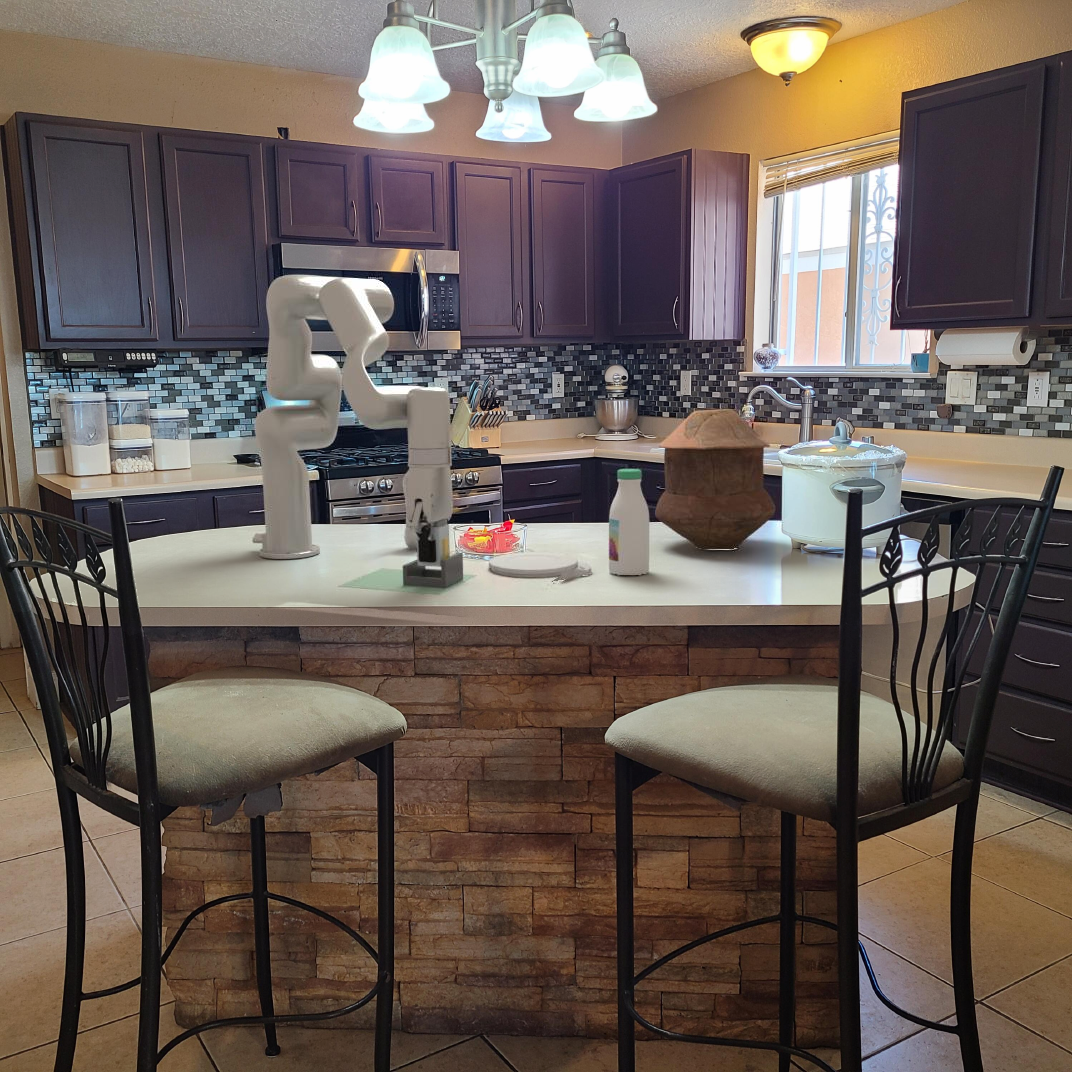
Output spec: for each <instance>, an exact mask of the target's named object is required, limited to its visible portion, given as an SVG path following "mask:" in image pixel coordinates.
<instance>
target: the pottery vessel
mask: <svg viewBox="0 0 1072 1072" xmlns="http://www.w3.org/2000/svg"><path fill="white" fill-rule="evenodd" d="M770 447H771V445H770V444H769V442H767V441H766V440H765V439H763V438H762V437H761V436H760V435H759V434H758V433H757V431H755V430H754V429H753V427H752V426H750V425H749V423H748V422H747V421H746V420H745V419H744V418H743V417H742V416H740V414H738V413H737V412H736V411H735V410H733V409H732V408H723V409H722V408H721V409H720V408H719V409H718V408H717V409H707V410H706V409H705V410H703V409H702V410H696V411H693V412H692V413H690V414H689V415H688V416H687V417H686V418H685V419H684V420H683V421H682V422H681V423H680V424H679V425H678V426H677V427H676V428H675V429H674V430H673V431H672V432H671V433H670V434H669V435H668V436H667V437H666V438H665V439H663V440H662V441H661V442H660V443H659V444H658V448H663V449H664V452H663V453H664V463H663V464H664V480H665V481H664V482H665V483H664V485H665V486H664V488H665V490H664V491H663V493H662V494H661V496H660V497H659V499H658V502H657V504H656V508H655V511H654V515H655V518H656V519H657V520H658V521H660V522H661V523H662V524H663V525H665V526H666V527H668V528H669V529H671V530H672V531H673V532H675V533H676V534H677V535H679V536H680V537H682V538H684V539H685V540H687V541H688V542H690V543H692V544H693V545H694V546H693V545H692V546H693V547H694V548H695V547H697V548H696V549H698V548H701V549H700V550H702V549H734V548H738V549H740V546H741V545H742V544H743V542H744V541H746V540H747V539H748V538H749V537H750V536H751V535H753V534H754V533H755V532H756V531H758V530H759V529H760V528H761V527H763V526H764V525H765V524H766V523H767V522H768V521H770V520H771V518H773V517H774V515H775V514H776V505H775V503H774V501H773V499H772V497H771V495H770V494H769V493H768V491H767V490H766V489H765V488H764V475H765V474H764V457H765V456H764V451H765V450H764V448H770Z"/></svg>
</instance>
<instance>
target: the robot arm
mask: <svg viewBox="0 0 1072 1072" xmlns="http://www.w3.org/2000/svg"><path fill="white" fill-rule="evenodd" d="M269 285H270V286H269V288H268V290H267V293H266V299H265V300H266V301H265V302H266V304H265V306H266V307H265V308H266V314H267V320H268V321H267V322H268V328H269V337H268V338H269V339H268V348H267V362H266V363H267V365H266V375H265V378H266V380H265V384H266V390H267V393H268V394H269V396H270V397H272V398H273V399H275V400H278V401H284V402H293V401H294V402H296V401H298V402H300V401H309V404H299V405H298V404H290V405H287V404H285V405H284V404H283V405H274V406H269V407H266V408H264V409H262V410H261V411H260V412H259V413H257V416H255V420H254V434H255V438H256V442H257V446H258V447H257V448H258V451H259V456H260V461H261V474H262V476H261V477H262V486H263V487H262V489H263V504H264V509H263V510H264V522H265V523H264V525H265V532H264V533H259V532H257V533H255V534H254V536H253V537H252V541H251V542H252V543H253V544H262V546H261V547H262V548H260V549H259V556H260V557H262V558H264V559H269V560H271V559H272V560H292V559H293V560H294V559H301V558H302V559H303V558H309V557H313V556H316V555H318V554H319V553H320V552H321V549H320V548H321V547H320V546H318V544H313V534H312V515H311V513H312V512H311V497H310V492H311V491H310V475H309V470H308V467H307V465H306V463H305V462H304V460H303V458H302V457H301V456H300V454H299V453H298V451H305V450H315V449H323V448H327V447H329V446H331V444H333V443H334V441H335V439H336V437H337V435H338V434H337V433H338V428H339V418H340V409H341V402H342V399H341V398H342V393H344V396H345V398H346V401H347V403H348V405H349V406H350V408H351V409H352V411H353V413H354V415H355V417H356V418H357V419H358V421H359V422H360V423H361V424H363V426H364V427H366V428H368V429H370V430H371V429H372V430H388V429H405V428H406V429H407V442H408V443H407V444H408V445H407V446H408V459H409V467H410V468H408V470H409V472H408V471H407V472H408V481H407V520H408V522H410V523H412V524H411V527H412V528H413V529H414V530H415V532H416V534H417V540H418V551H419V561H420V562H430V563H434V562H436V540H433V537H434V523H435V522H438V521H440V520H443V519H445V520H446V524H450V520H451V518H452V514H453V511H454V495H453V494H454V493H453V492H454V491H453V482H452V473H451V467H452V463H453V462H452V433H451V431H452V430H451V401H450V399H451V398H450V393H449V391H448V390H447V389H446V388H445V387H444V388H443V387H439V386H438V387H436V386H435V387H434V386H430V387H428V386H427V387H423V386H418V385H389V386H388V385H387V386H384V385H383V386H381V385H380V386H375V384H374V382H373V381H372V380H371V379H372V378H370V376H369V374H368V372H367V370H366V367H367V366H369V365H371V364H372V363H374V362H376V361H377V360H378V359H380V358H381V357H382V356H383V355H384V354H385V353H386V351H387V350H388V347H389V345H390V337H389V334H388V333H387V331H386V329H385V328H384V326H383V324H385V323H386V322H387V321H389V320H390V319H391V318H392V316H393V313H394V310H395V301H394V300H395V299H394V297H393V294H392V292H391V290H390V288H389V287H388V286H387V285H386V284H385V283H384V282H382V281H380V280H378V279H371V278H369V279H368V278H359V277H358V278H356V277H355V278H354V277H342V276H340V277H339V276H326V275H325V276H323V275H313V274H312V275H311V274H286V275H283V276H278V277H277V278H275V279H274V280H273V281H272V282H271V284H269ZM307 320H319V321H323V320H324V321H328V323H329V325H330V327H331V329H332V330H333V332H334V334H335V336H336V337H337V340H338V341H339V344H340V345H341V347H342V349H343V351H344V352H345V354H346V356H345V357H346V358H345V360H344V362H343V366H342V370H341V369H340V365H339V364H338V363H337V361H336V360H335V359H333V357H332V356H329V355H326V354H319V353H318V354H313V353H312V346H313V333H312V330H311V328H310V326H309V324H308V322H307ZM342 389H343V390H342ZM342 391H343V392H342ZM423 519H427V520H426V521H427V522H428V523H427V522H422V520H423ZM423 526H428V530H427V528H426V527H423Z"/></svg>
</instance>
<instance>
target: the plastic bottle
mask: <svg viewBox="0 0 1072 1072" xmlns="http://www.w3.org/2000/svg"><path fill="white" fill-rule="evenodd" d="M407 462H408V463H407V467H409V458H408V461H407ZM409 468H410V467H409ZM409 468H408V470H407V472H405V475H404V476H403V479H402V483H401V484H402V487H403V488H402V490H403V497H404V502H405V511H406V513H405V514H406V517H405V529H404V537H403V538H404V544H405V545H406V547H407V548H411V549H415V550H417V534H416V532H415V530H414V529H413V528H412V527H411V524H412V523H410V522H408V520H407V481H408V472H409ZM423 520H424V519H423Z"/></svg>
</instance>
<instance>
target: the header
mask: <svg viewBox="0 0 1072 1072" xmlns="http://www.w3.org/2000/svg"><path fill="white" fill-rule="evenodd" d="M463 557H464V556H463V552H456V553H454V554H453V555H450V557H448V558H445V559H443V560H441V567H440V568H441V569H437V568H427V566H419V565H418V560H417V559H415V560H413V561H410V562H408V563H405V564H403V565H402V570H403V585H407V586H420V587H433V588H448V587H450V586H452V585H454V584H456V583H458V582H460V581H462V580H463V574H464V562H463V561H464V558H463Z"/></svg>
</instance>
